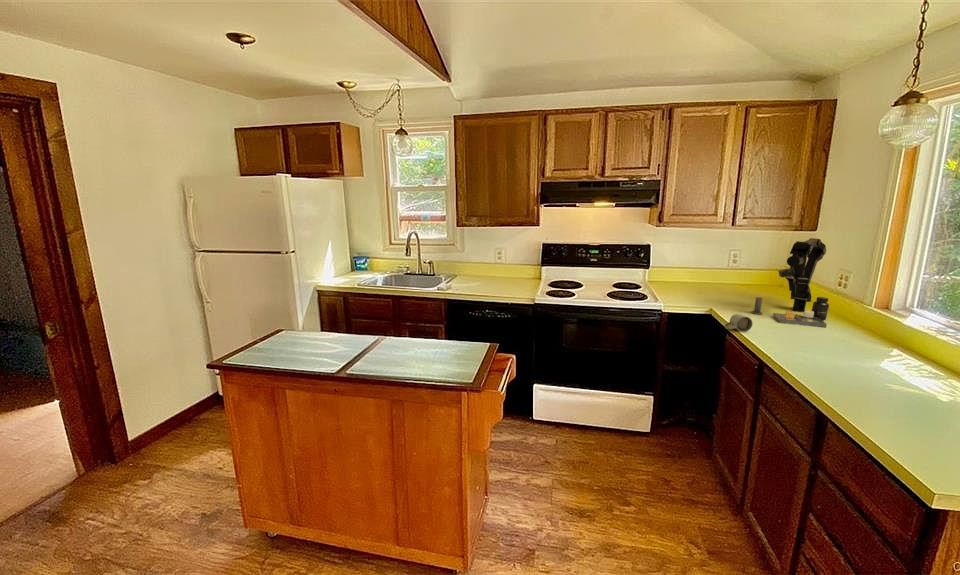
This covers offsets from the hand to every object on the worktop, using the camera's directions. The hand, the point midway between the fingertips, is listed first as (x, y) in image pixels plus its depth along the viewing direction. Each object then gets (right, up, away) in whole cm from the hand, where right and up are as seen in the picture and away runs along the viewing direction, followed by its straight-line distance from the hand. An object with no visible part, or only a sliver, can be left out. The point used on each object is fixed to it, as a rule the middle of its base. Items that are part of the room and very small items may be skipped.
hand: (793, 292), depth 233 cm
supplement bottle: (+10, -14, -4) cm, 18 cm away
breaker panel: (-5, -15, -10) cm, 19 cm away
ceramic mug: (-46, -18, -24) cm, 54 cm away
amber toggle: (-10, -13, -11) cm, 20 cm away
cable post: (-18, -12, +4) cm, 22 cm away
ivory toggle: (+1, -13, -9) cm, 16 cm away
